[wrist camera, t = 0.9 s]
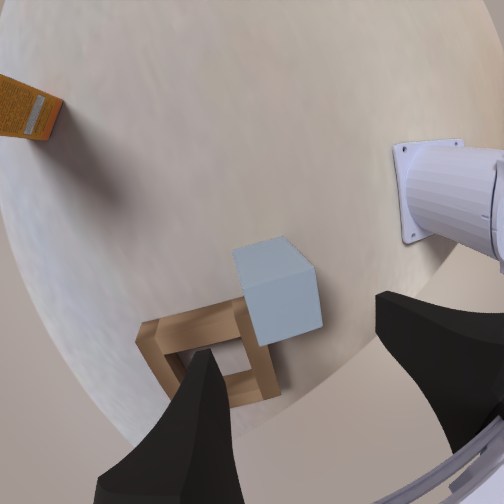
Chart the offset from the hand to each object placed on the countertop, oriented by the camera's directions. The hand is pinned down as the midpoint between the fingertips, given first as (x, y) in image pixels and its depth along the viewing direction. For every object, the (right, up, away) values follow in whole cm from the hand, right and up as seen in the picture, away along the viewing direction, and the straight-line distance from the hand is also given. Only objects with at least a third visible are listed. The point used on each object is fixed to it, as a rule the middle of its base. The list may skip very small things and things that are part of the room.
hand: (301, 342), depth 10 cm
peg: (-1, +3, +8) cm, 9 cm away
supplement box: (-17, +14, +2) cm, 22 cm away
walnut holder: (-5, -4, +10) cm, 12 cm away
